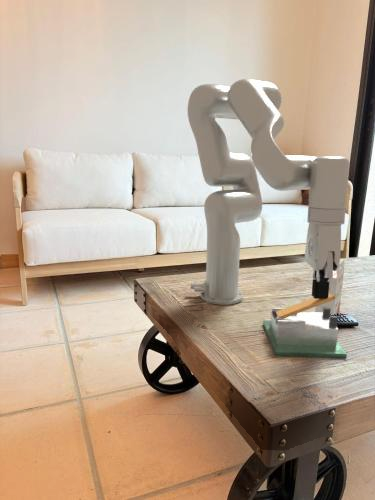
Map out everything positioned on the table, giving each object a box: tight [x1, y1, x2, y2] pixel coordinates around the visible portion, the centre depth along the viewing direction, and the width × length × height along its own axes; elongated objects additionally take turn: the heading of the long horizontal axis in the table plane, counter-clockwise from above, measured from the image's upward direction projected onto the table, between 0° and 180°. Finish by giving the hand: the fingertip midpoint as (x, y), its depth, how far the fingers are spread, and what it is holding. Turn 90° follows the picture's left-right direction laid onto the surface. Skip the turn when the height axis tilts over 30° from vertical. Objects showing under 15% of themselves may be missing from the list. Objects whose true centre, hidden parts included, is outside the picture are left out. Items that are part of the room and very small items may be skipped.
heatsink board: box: [262, 307, 348, 359], centre depth 90 cm, size 15×16×7 cm
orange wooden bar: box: [276, 292, 334, 319], centre depth 89 cm, size 13×3×1 cm, turn 90°
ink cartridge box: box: [314, 259, 345, 315], centre depth 105 cm, size 9×5×15 cm, turn 148°
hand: (319, 297), depth 88 cm, fingers closed
